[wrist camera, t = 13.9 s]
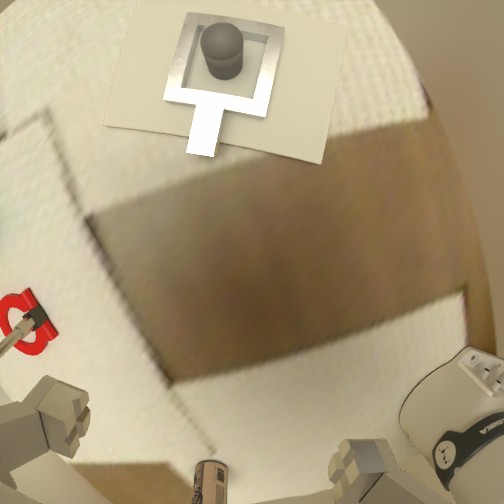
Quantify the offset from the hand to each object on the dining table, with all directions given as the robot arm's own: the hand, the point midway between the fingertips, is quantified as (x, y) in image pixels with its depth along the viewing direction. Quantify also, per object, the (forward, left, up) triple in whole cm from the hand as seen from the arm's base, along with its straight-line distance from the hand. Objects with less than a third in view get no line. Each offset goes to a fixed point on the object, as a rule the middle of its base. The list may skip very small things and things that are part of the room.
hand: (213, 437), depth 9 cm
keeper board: (+4, -16, -23) cm, 28 cm away
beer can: (-3, +34, -23) cm, 41 cm away
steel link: (+4, -14, -21) cm, 26 cm away
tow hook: (+24, +15, -23) cm, 36 cm away
